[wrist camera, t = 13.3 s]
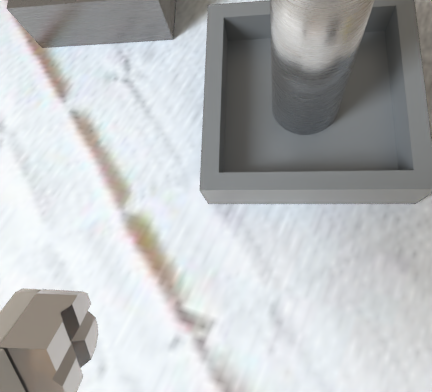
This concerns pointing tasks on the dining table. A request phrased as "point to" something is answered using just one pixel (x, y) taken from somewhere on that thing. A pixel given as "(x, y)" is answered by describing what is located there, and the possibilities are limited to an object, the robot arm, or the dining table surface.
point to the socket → (94, 20)
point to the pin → (313, 59)
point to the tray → (328, 138)
